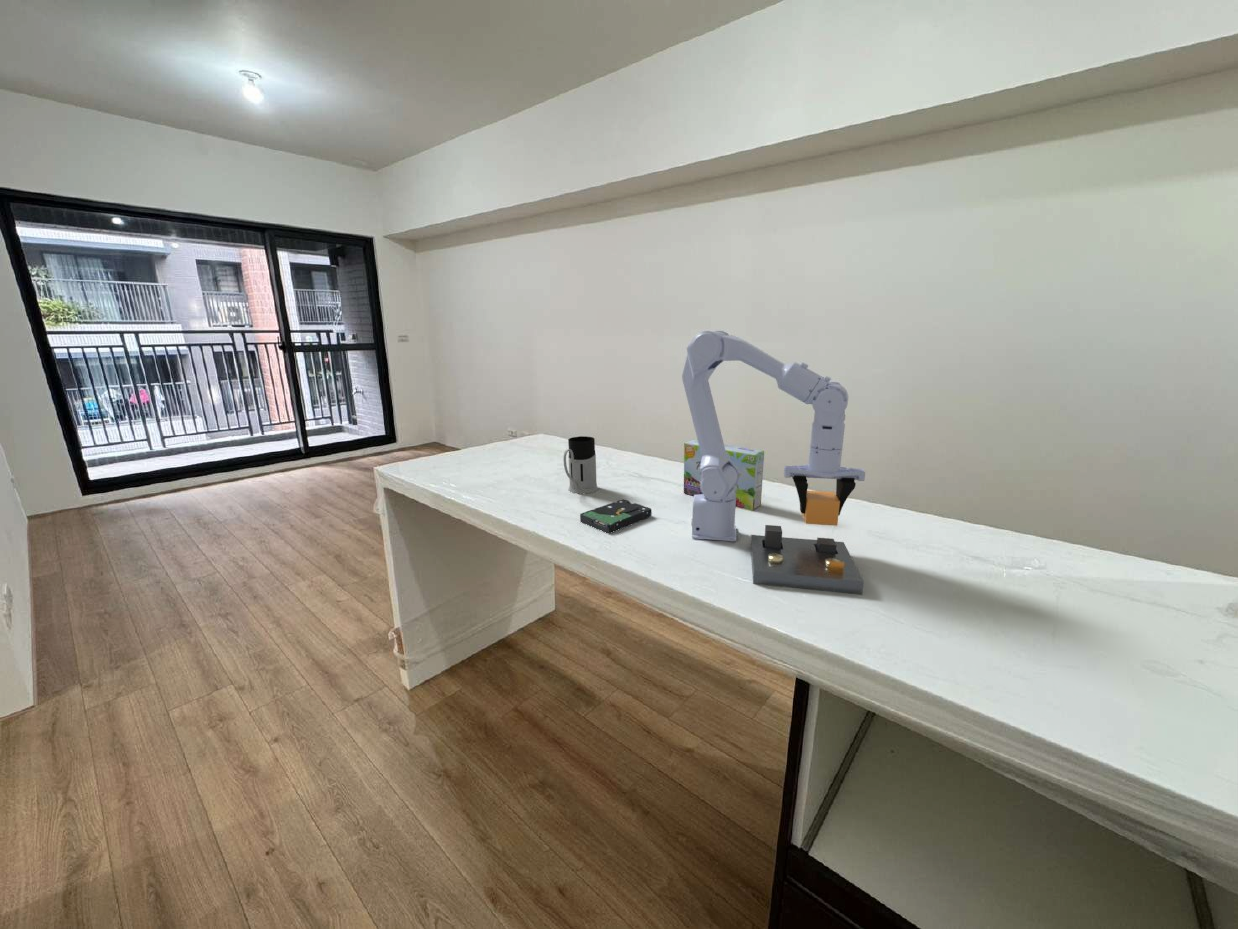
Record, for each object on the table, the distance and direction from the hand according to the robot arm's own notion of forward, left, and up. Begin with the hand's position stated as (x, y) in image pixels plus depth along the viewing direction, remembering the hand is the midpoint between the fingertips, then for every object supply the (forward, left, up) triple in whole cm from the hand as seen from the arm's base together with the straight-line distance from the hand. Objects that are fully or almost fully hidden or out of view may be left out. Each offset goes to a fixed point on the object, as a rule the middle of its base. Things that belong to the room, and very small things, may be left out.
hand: (819, 512), depth 95 cm
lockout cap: (0, 0, -1) cm, 1 cm away
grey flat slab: (-4, -8, -8) cm, 12 cm away
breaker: (-9, -4, -7) cm, 12 cm away
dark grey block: (+1, -4, -8) cm, 9 cm away
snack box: (-20, +28, -9) cm, 35 cm away
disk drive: (-44, +9, -9) cm, 46 cm away
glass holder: (-60, +27, -9) cm, 66 cm away
